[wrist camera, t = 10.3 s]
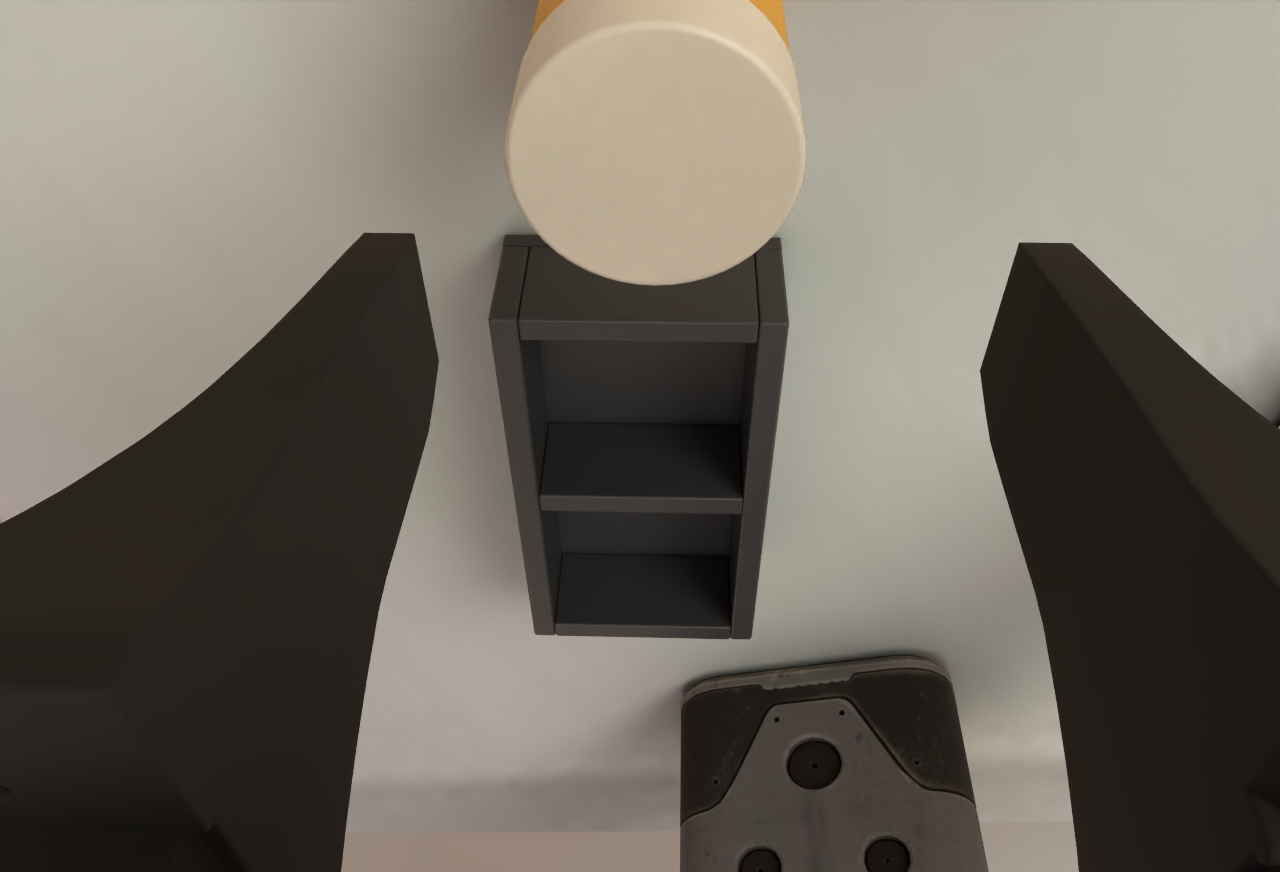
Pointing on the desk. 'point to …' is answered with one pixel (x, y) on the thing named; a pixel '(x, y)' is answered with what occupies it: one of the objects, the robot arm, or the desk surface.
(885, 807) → the electronic device
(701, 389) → the organizer
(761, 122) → the pill bottle
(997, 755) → the desk surface
